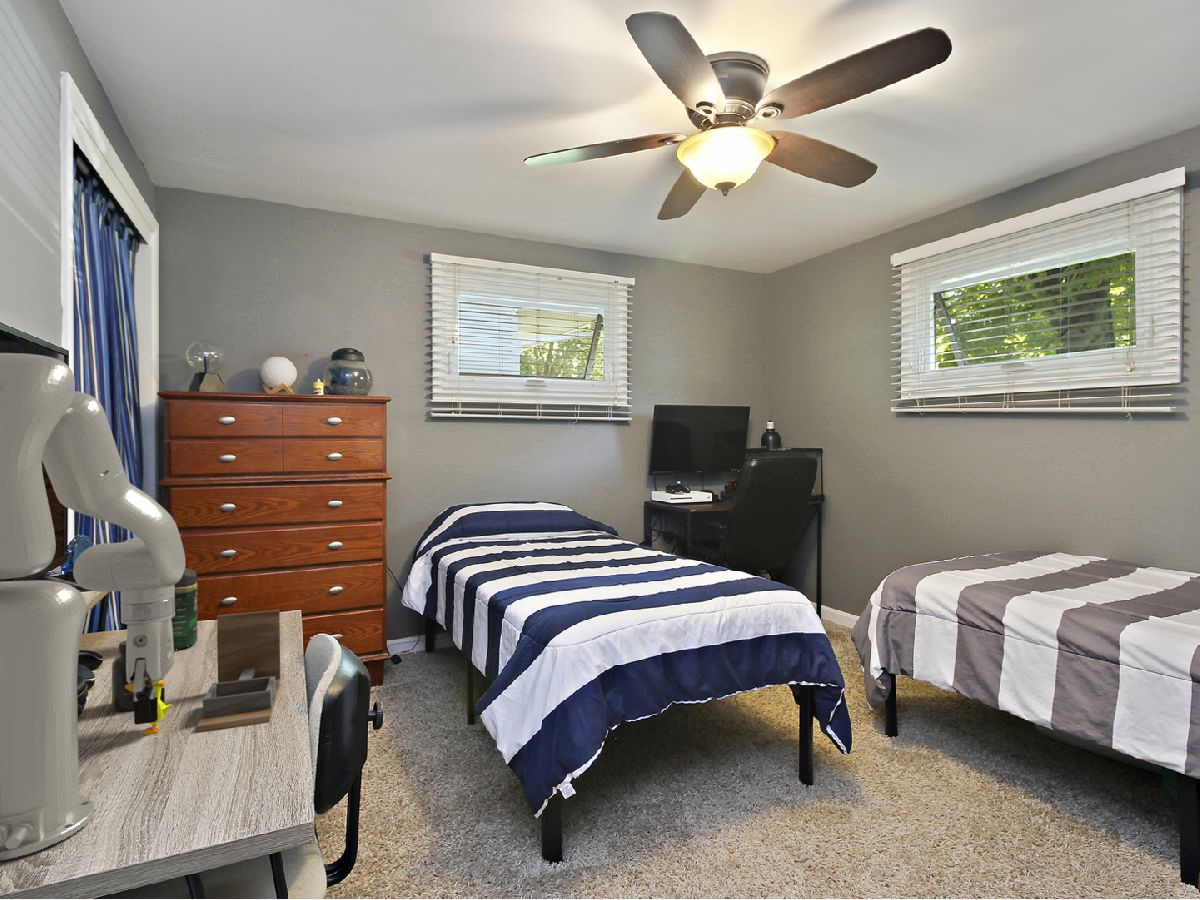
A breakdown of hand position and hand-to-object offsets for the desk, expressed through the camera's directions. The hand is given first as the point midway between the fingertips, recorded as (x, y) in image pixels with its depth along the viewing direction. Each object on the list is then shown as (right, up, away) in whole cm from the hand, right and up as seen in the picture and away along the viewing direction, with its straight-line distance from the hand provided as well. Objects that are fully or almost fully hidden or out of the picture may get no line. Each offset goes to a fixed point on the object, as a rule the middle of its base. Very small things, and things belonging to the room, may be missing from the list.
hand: (149, 716), depth 110 cm
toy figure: (0, -3, 0) cm, 3 cm away
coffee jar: (-26, -3, +48) cm, 55 cm away
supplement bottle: (-11, -3, +12) cm, 16 cm away
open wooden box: (+10, -3, +11) cm, 15 cm away
